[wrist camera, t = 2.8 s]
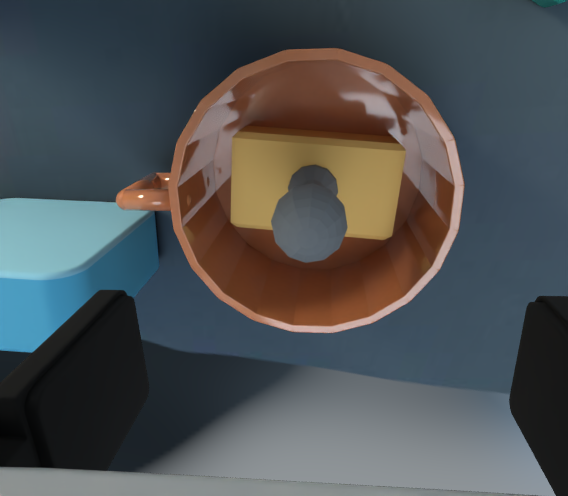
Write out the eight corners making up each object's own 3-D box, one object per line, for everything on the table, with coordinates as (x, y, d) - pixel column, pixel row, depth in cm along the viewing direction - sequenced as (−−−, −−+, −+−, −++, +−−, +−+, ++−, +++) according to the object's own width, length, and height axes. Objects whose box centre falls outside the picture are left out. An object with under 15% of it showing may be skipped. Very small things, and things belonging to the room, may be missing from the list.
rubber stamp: (240, 210, 31) (191, 289, 19) (242, 124, 28) (189, 157, 17) (384, 223, 30) (418, 311, 19) (397, 136, 28) (445, 178, 17)
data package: (13, 253, 34) (-140, 342, 23) (0, 196, 32) (-172, 261, 21) (166, 261, 33) (85, 358, 22) (161, 203, 31) (70, 276, 20)
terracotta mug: (438, 51, 26) (483, 43, 19) (417, 274, 32) (445, 336, 24) (142, 60, 28) (75, 56, 20) (170, 271, 33) (125, 328, 26)
